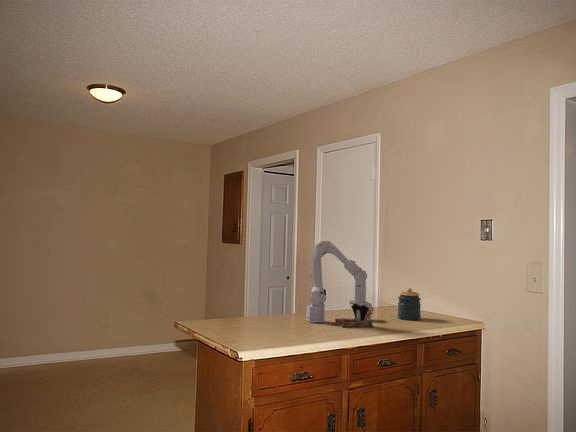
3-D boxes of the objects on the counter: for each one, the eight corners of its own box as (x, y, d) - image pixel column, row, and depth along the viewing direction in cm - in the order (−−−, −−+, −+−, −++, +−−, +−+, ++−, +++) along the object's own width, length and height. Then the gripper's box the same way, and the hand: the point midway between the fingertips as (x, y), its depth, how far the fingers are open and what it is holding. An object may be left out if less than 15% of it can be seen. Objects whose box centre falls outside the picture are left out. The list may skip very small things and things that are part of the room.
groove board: (343, 327, 249) (343, 322, 249) (335, 323, 260) (335, 318, 260) (372, 327, 253) (372, 322, 253) (362, 322, 264) (363, 318, 264)
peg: (359, 324, 253) (359, 310, 253) (355, 323, 255) (355, 309, 256) (364, 323, 255) (364, 310, 255) (359, 322, 257) (359, 309, 258)
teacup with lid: (362, 321, 267) (362, 300, 267) (351, 319, 275) (351, 298, 275) (378, 320, 273) (378, 299, 274) (367, 317, 281) (368, 297, 282)
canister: (423, 321, 275) (423, 289, 276) (400, 320, 276) (400, 289, 276) (417, 317, 288) (418, 287, 289) (395, 316, 289) (396, 286, 289)
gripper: (345, 292, 259) (344, 318, 259) (365, 295, 248) (364, 322, 247) (354, 291, 263) (354, 317, 263) (374, 294, 252) (374, 321, 251)
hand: (359, 319), depth 255 cm, fingers closed on peg, 3 cm apart
